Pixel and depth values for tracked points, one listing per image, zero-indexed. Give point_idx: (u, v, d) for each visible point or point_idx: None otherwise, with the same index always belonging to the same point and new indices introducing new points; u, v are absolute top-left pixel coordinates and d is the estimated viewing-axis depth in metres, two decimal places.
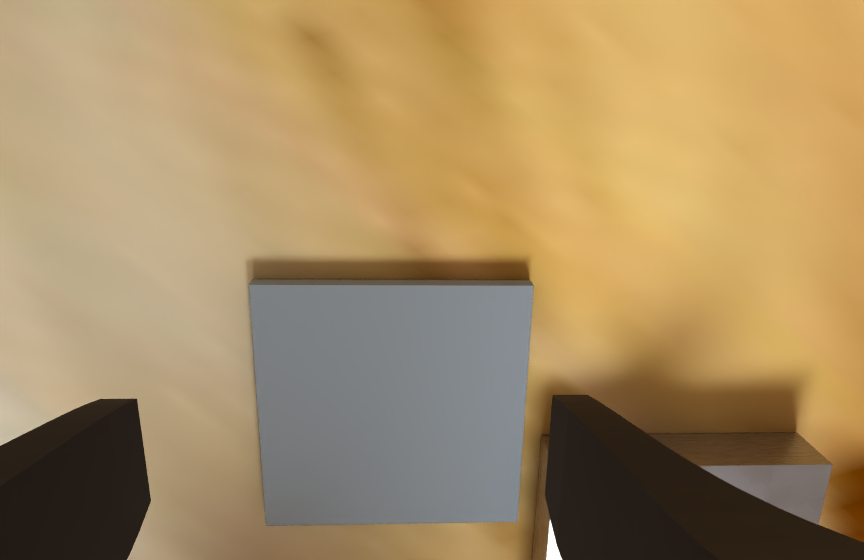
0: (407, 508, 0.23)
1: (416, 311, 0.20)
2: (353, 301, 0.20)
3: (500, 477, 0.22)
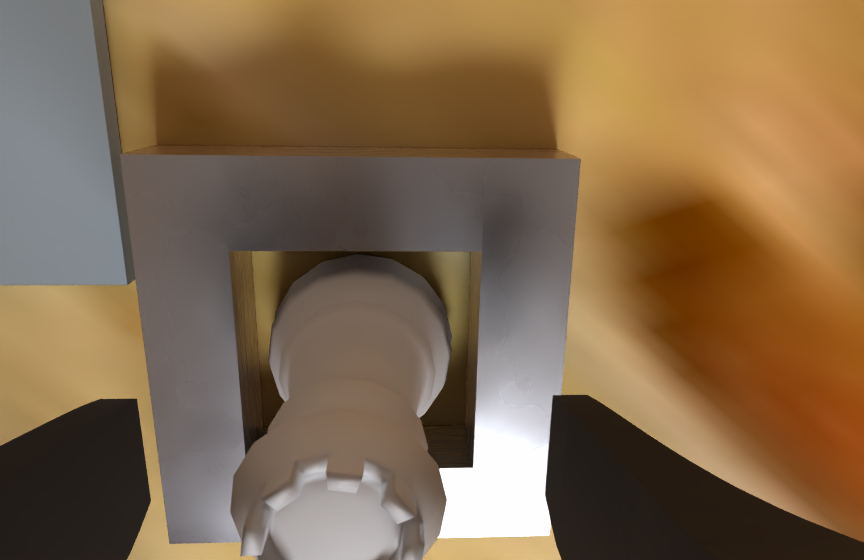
0: None
1: None
2: None
3: (84, 205, 0.14)
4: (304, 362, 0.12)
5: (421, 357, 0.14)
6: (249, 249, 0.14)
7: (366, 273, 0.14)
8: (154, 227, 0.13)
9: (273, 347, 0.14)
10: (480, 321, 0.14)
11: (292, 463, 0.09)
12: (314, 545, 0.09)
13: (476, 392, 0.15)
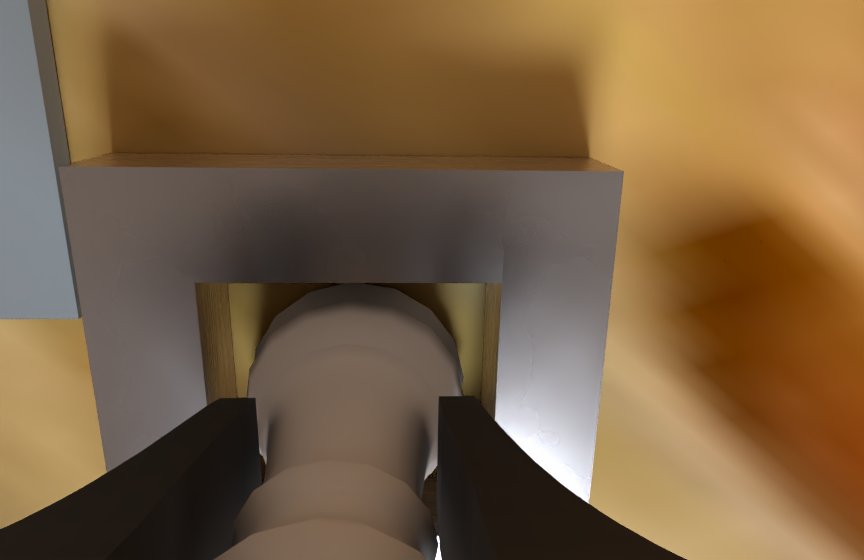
0: None
1: None
2: None
3: (25, 225, 0.12)
4: (285, 425, 0.10)
5: (428, 413, 0.11)
6: (219, 281, 0.11)
7: (362, 308, 0.12)
8: (103, 255, 0.11)
9: (250, 396, 0.12)
10: (499, 366, 0.12)
11: None
12: None
13: None
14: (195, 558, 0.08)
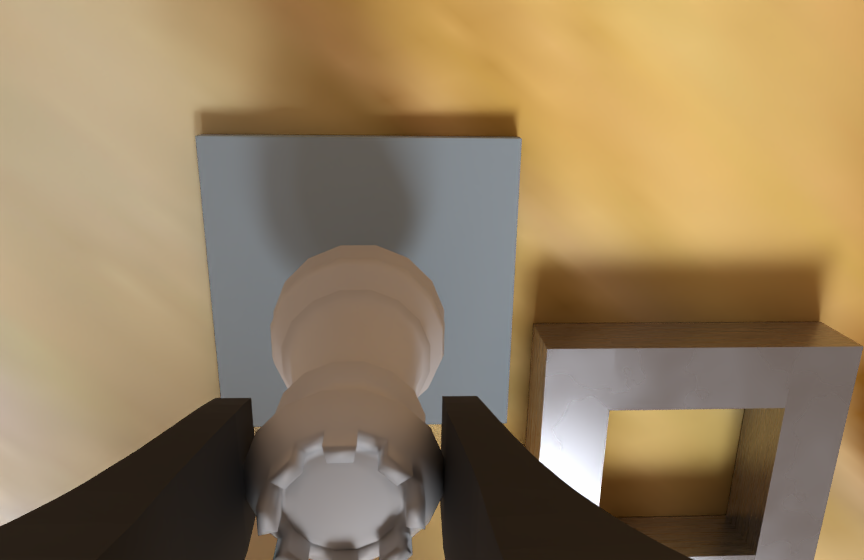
0: None
1: (388, 170, 0.18)
2: (315, 156, 0.18)
3: (486, 370, 0.20)
4: (301, 354, 0.13)
5: (413, 333, 0.14)
6: (624, 409, 0.19)
7: (350, 262, 0.15)
8: (561, 395, 0.19)
9: (274, 345, 0.15)
10: (776, 454, 0.20)
11: (292, 444, 0.09)
12: (325, 517, 0.10)
13: (764, 502, 0.20)
14: (189, 558, 0.08)
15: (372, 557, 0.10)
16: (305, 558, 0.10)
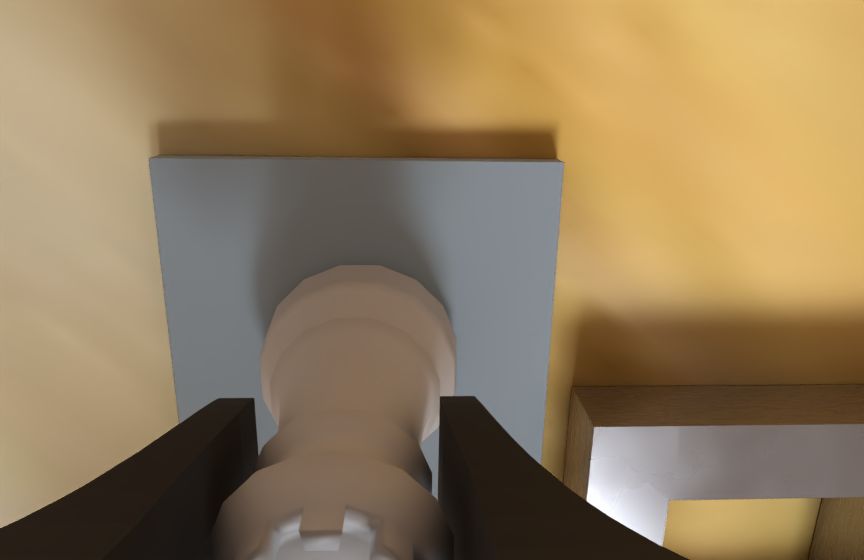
0: None
1: (394, 201, 0.14)
2: (302, 185, 0.14)
3: None
4: (289, 393, 0.11)
5: (420, 369, 0.12)
6: (687, 499, 0.15)
7: (350, 285, 0.13)
8: (609, 483, 0.15)
9: (263, 379, 0.13)
10: None
11: (263, 522, 0.08)
12: None
13: None
14: (193, 558, 0.08)
15: None
16: None
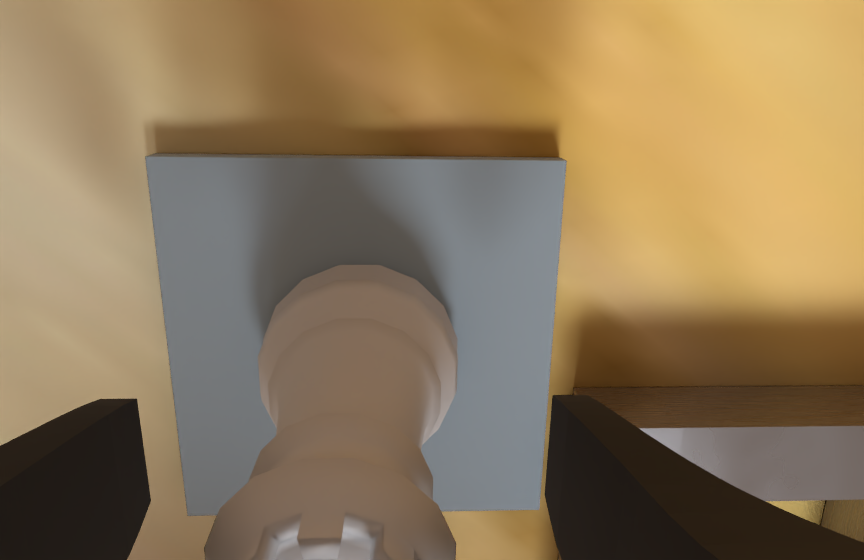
0: None
1: (394, 200, 0.14)
2: (301, 183, 0.14)
3: (516, 446, 0.16)
4: (288, 396, 0.11)
5: (421, 370, 0.12)
6: None
7: (349, 285, 0.13)
8: None
9: (261, 380, 0.13)
10: None
11: (261, 529, 0.07)
12: None
13: None
14: None
15: None
16: None
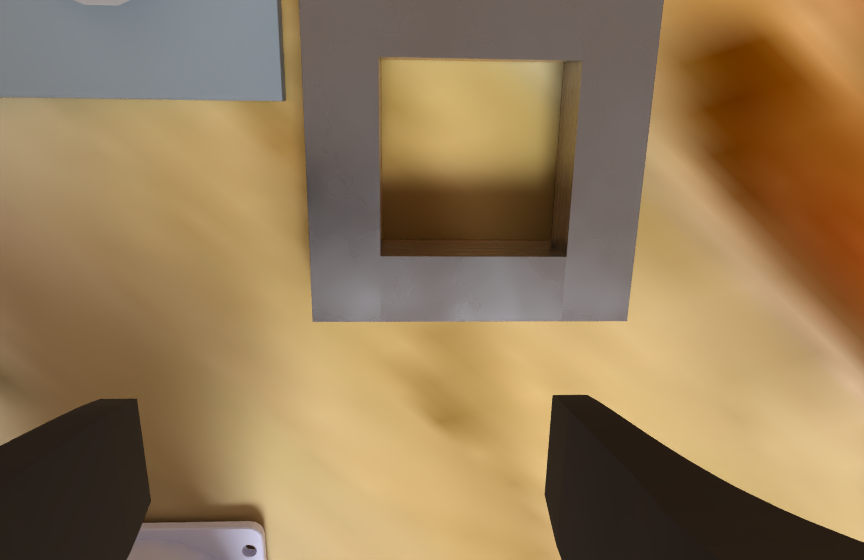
0: (136, 74, 0.18)
1: None
2: None
3: (252, 29, 0.18)
4: None
5: None
6: (395, 55, 0.17)
7: None
8: (320, 35, 0.16)
9: None
10: (578, 123, 0.17)
11: None
12: None
13: (571, 188, 0.18)
14: None
15: None
16: None
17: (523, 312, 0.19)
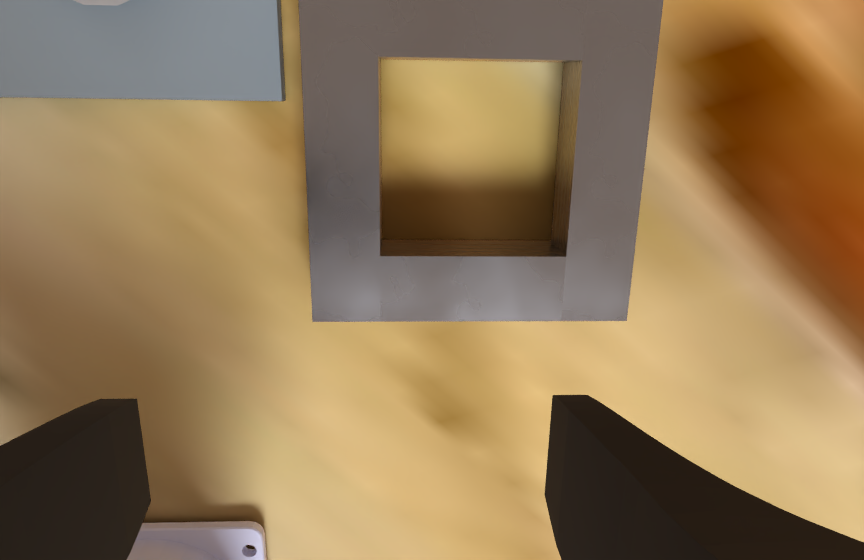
0: (136, 74, 0.18)
1: None
2: None
3: (252, 29, 0.18)
4: None
5: None
6: (395, 55, 0.17)
7: None
8: (320, 35, 0.16)
9: None
10: (578, 123, 0.17)
11: None
12: None
13: (571, 188, 0.18)
14: None
15: None
16: None
17: (523, 312, 0.19)
